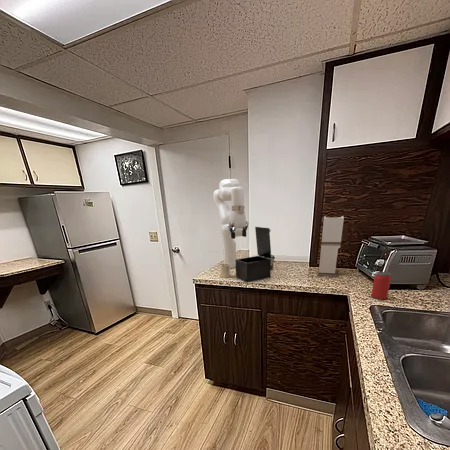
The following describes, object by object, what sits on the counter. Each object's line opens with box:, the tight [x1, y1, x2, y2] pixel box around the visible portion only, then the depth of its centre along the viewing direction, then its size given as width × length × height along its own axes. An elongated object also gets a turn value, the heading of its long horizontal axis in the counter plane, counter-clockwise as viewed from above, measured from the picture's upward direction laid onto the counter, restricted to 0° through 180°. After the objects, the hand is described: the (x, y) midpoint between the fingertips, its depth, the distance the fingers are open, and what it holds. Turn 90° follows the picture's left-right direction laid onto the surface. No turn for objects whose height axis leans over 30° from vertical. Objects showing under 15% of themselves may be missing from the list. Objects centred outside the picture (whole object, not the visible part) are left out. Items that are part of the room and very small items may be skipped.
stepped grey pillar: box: [318, 215, 345, 278], centre depth 153 cm, size 11×11×35 cm
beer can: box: [371, 271, 392, 300], centre depth 118 cm, size 7×7×12 cm
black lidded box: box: [235, 255, 272, 283], centre depth 159 cm, size 18×14×12 cm
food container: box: [261, 254, 276, 271], centre depth 176 cm, size 12×6×10 cm, turn 84°
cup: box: [219, 263, 231, 279], centre depth 165 cm, size 6×6×8 cm
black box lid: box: [254, 226, 272, 258], centre depth 157 cm, size 19×14×5 cm
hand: (238, 237), depth 157 cm, fingers open, 9 cm apart
